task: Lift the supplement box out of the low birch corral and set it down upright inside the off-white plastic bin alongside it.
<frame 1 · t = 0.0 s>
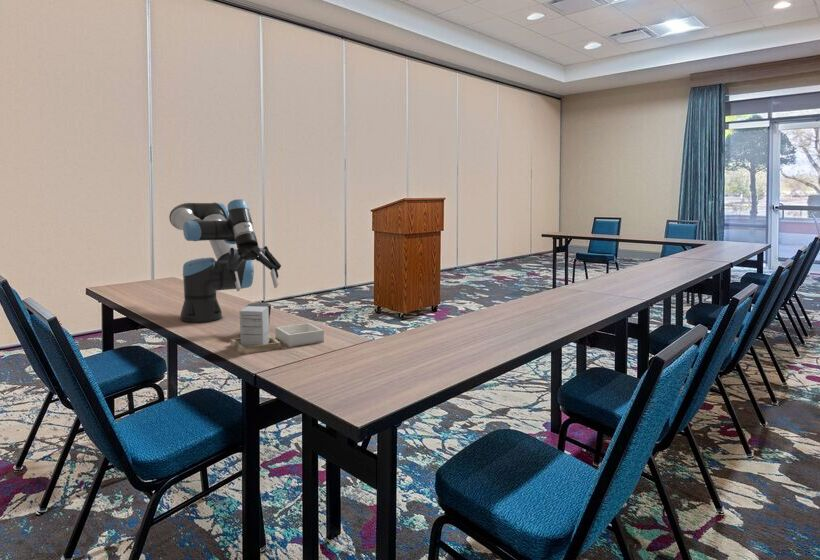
hand: (258, 287, 192), 15 cm above the table, tool tilted 35°, fingers open, 13 cm apart
bin: (299, 340, 181), on the table
corral: (255, 346, 173), on the table
supplement box: (255, 347, 173), resting in corral
coffee mug: (261, 332, 192), on the table
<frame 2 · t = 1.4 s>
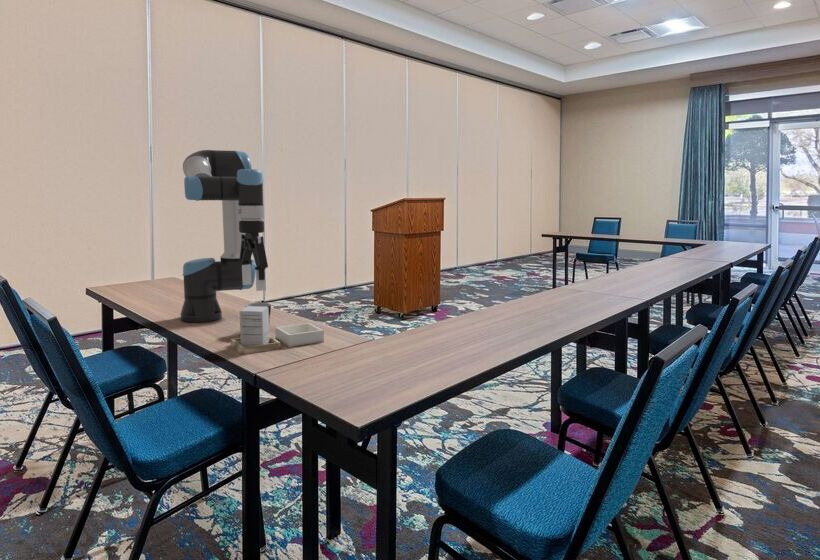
hand: (253, 287, 170), 19 cm above the table, tool pointing down, fingers open, 13 cm apart
nothing on the table moved.
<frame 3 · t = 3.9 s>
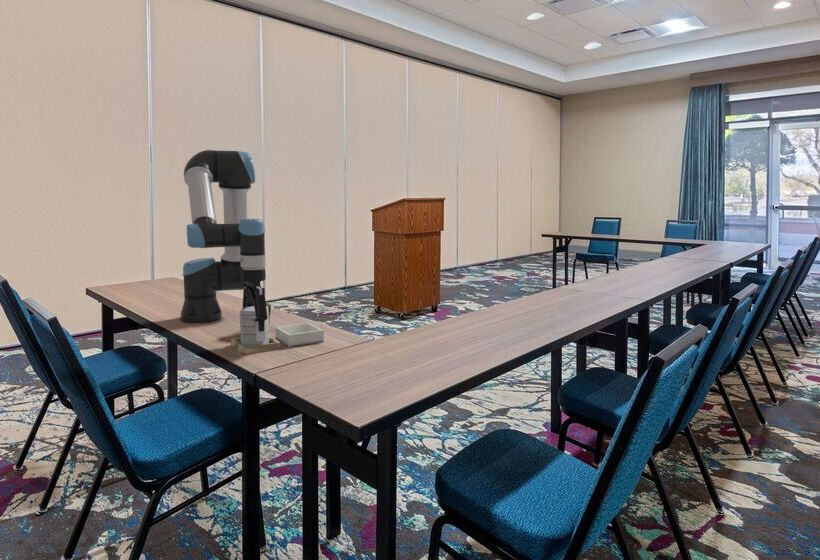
hand: (255, 337, 172), 3 cm above the table, tool pointing down, fingers closed on supplement box, 10 cm apart
supplement box: (255, 347, 173), resting in corral, touching gripper
everything else where it was.
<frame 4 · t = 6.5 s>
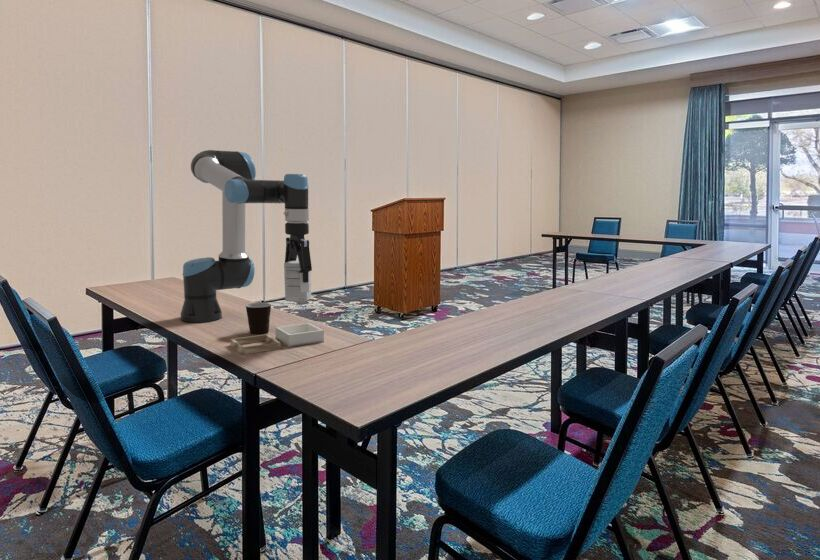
hand: (298, 289, 178), 17 cm above the table, tool pointing down, fingers closed on supplement box, 10 cm apart
supplement box: (298, 300, 179), point 14 cm above the table, touching gripper
everything else where it was.
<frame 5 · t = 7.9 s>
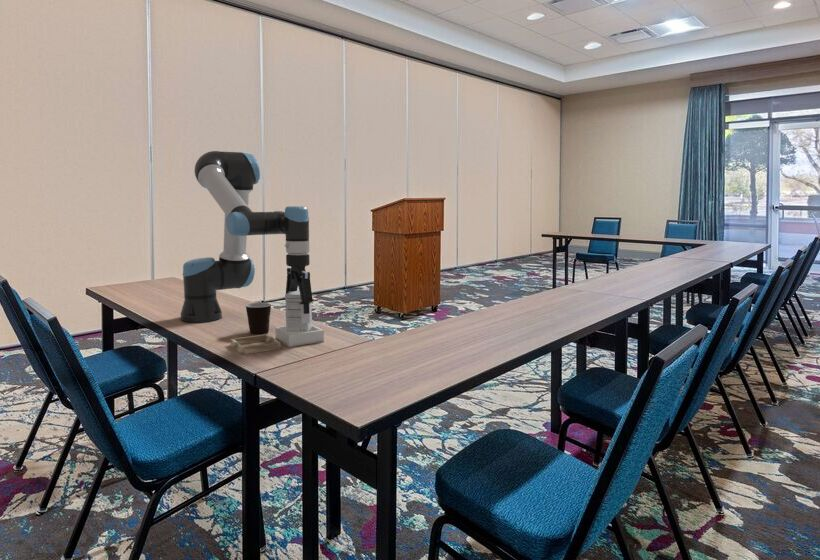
hand: (299, 319, 180), 7 cm above the table, tool pointing down, fingers closed on supplement box, 10 cm apart
supplement box: (299, 330, 180), point 4 cm above the table, touching gripper
everything else where it was.
when the fingers open (5 cm above the table, at t = 9.3 s): supplement box stays where it is, resting on bin.
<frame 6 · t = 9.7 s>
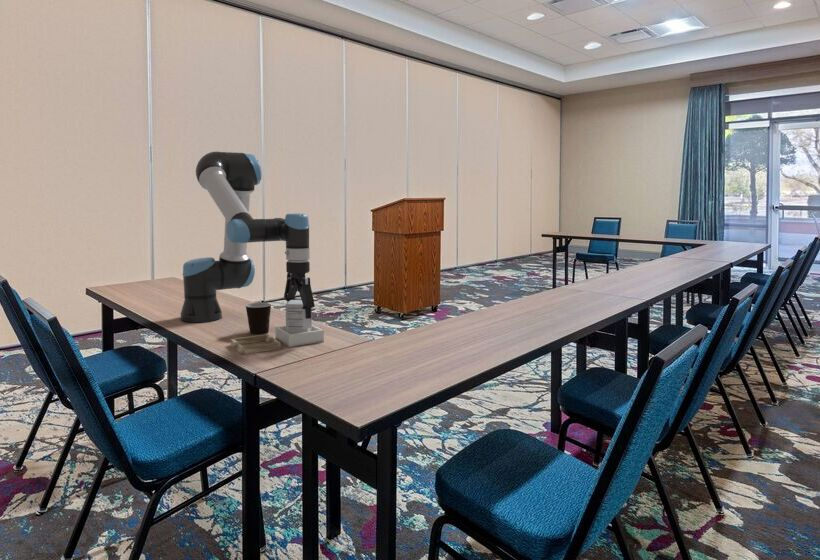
hand: (299, 323, 180), 6 cm above the table, tool pointing down, fingers open, 13 cm apart
supplement box: (299, 339, 181), resting on bin
everything else where it was.
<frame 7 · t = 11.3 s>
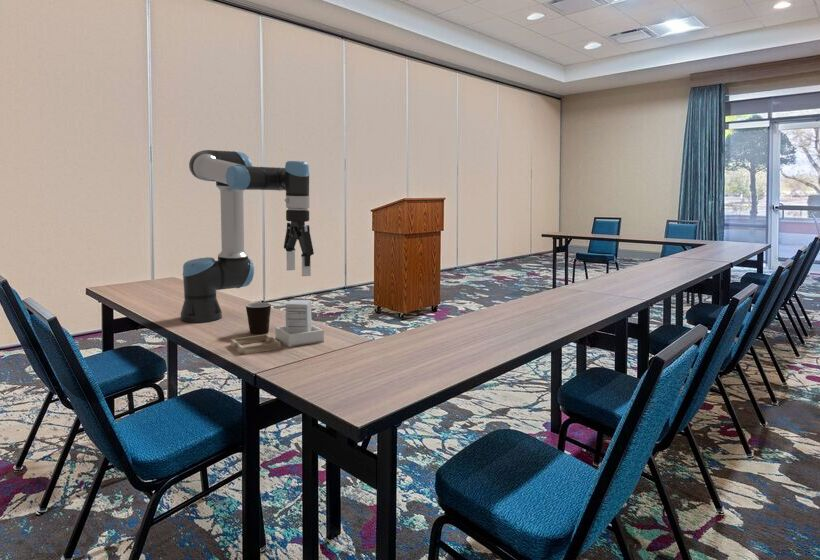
hand: (298, 273, 180), 22 cm above the table, tool pointing down, fingers open, 13 cm apart
nothing on the table moved.
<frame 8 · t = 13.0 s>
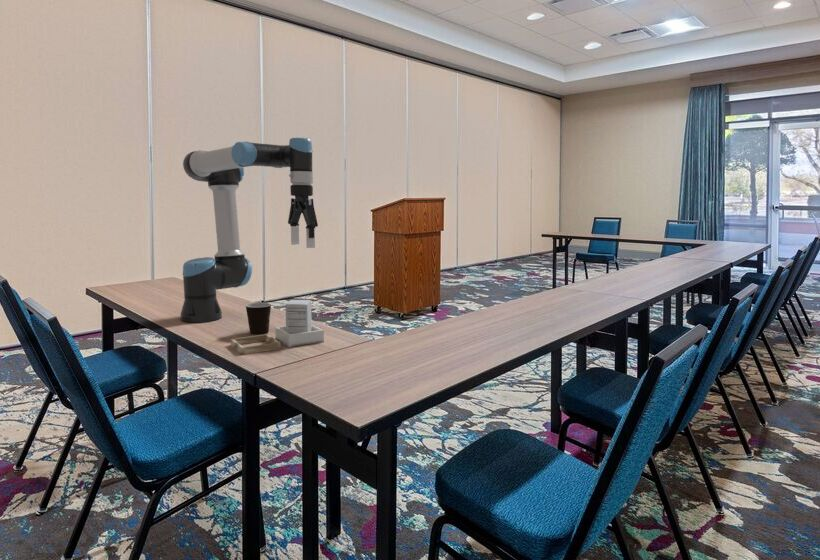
hand: (302, 246, 188), 31 cm above the table, tool pointing down, fingers open, 13 cm apart
nothing on the table moved.
at the end: supplement box inside the target area on the bin (0.0 cm from its centre), point 0.4 cm above the bin's base; supplement box tilted 0°; the gripper is holding nothing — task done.
